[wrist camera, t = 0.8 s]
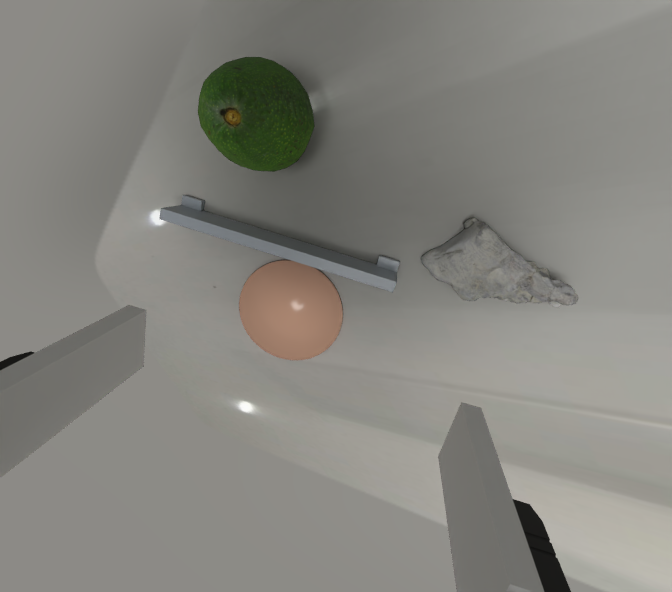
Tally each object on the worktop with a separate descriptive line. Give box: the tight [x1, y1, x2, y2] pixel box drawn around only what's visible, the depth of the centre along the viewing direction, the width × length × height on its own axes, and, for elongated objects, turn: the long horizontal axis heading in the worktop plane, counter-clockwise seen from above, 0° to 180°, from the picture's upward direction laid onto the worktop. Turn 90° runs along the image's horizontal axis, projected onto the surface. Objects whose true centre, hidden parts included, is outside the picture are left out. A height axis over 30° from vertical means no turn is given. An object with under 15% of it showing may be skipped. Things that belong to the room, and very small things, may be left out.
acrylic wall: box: [160, 195, 400, 292], centre depth 34 cm, size 3×22×4 cm, turn 74°
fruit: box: [198, 57, 314, 171], centre depth 27 cm, size 8×8×12 cm
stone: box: [421, 217, 578, 307], centre depth 33 cm, size 6×12×4 cm, turn 57°
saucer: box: [239, 260, 343, 360], centre depth 38 cm, size 11×11×1 cm
